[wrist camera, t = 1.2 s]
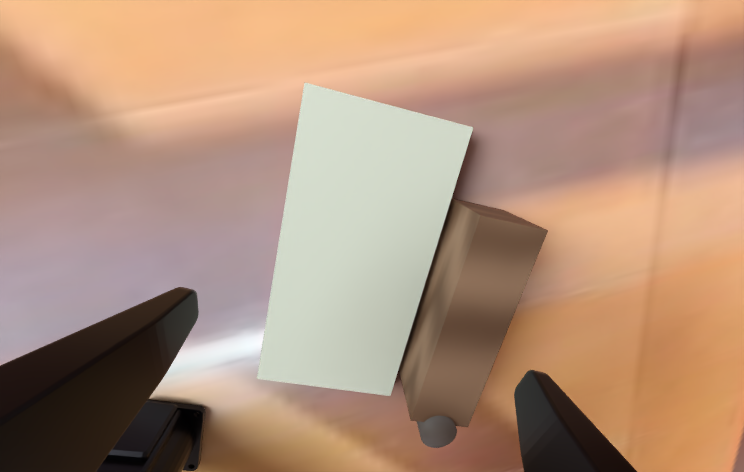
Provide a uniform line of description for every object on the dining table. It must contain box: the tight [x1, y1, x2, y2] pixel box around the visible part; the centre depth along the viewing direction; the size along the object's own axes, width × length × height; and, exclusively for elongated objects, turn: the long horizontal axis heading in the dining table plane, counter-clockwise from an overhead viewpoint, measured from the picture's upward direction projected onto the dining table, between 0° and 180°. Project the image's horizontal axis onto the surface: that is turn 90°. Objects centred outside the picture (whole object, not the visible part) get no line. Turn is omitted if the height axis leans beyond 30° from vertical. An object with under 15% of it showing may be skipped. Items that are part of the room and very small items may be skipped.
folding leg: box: [399, 198, 548, 448], centre depth 21 cm, size 16×4×5 cm, turn 167°
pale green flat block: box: [257, 83, 473, 396], centre depth 22 cm, size 20×10×2 cm, turn 167°
